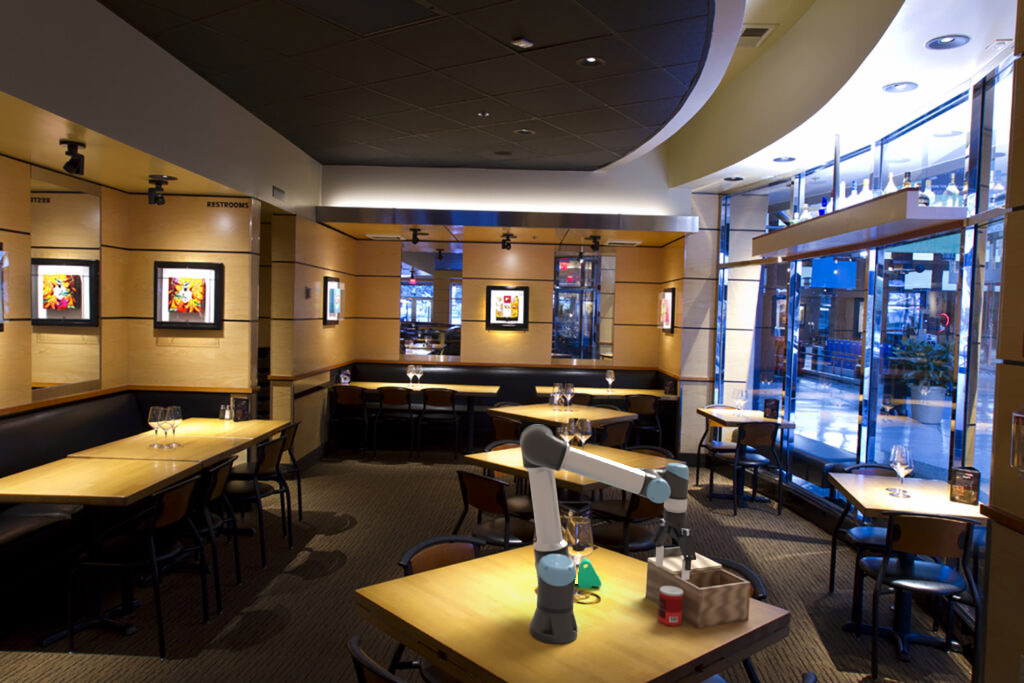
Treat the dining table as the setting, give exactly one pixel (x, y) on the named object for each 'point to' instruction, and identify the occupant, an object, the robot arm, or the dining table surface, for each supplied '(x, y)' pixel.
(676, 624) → the canned food
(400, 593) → the dining table surface
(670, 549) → the lid
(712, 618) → the housing
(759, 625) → the dining table surface
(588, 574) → the camera mount
